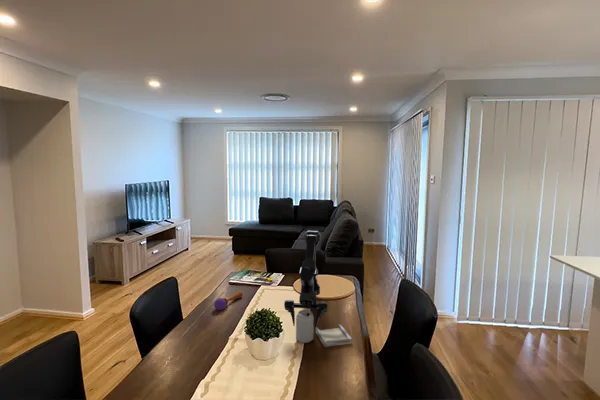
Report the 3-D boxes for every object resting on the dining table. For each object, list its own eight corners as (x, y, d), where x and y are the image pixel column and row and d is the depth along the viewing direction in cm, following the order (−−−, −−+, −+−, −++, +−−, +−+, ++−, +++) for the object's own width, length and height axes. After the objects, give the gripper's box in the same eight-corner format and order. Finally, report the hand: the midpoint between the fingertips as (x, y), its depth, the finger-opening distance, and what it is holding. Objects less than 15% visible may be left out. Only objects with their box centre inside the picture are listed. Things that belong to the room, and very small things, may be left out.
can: (311, 345, 134) (312, 318, 133) (294, 342, 136) (294, 315, 134) (314, 335, 141) (315, 309, 140) (297, 333, 143) (298, 307, 141)
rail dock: (315, 332, 144) (315, 327, 144) (340, 328, 147) (340, 324, 147) (324, 347, 133) (324, 342, 133) (351, 343, 136) (351, 338, 136)
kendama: (245, 291, 178) (221, 302, 160) (243, 301, 179) (219, 313, 161) (236, 287, 180) (212, 298, 162) (234, 297, 181) (210, 309, 163)
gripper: (285, 282, 140) (280, 318, 131) (328, 284, 139) (326, 321, 129) (287, 292, 149) (283, 327, 140) (327, 294, 147) (326, 330, 138)
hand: (304, 326), depth 136 cm, fingers open, 9 cm apart
